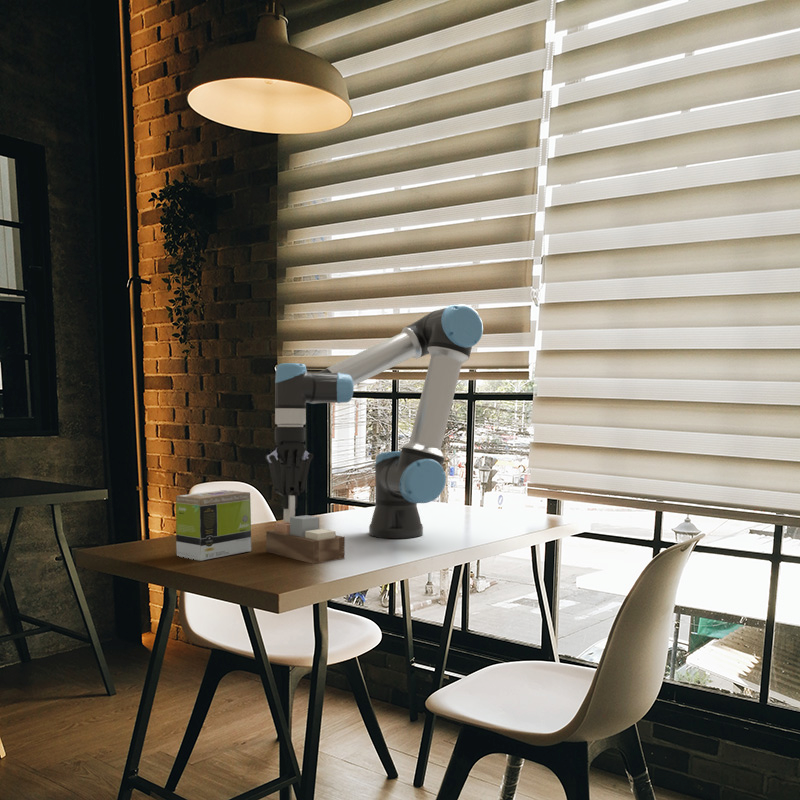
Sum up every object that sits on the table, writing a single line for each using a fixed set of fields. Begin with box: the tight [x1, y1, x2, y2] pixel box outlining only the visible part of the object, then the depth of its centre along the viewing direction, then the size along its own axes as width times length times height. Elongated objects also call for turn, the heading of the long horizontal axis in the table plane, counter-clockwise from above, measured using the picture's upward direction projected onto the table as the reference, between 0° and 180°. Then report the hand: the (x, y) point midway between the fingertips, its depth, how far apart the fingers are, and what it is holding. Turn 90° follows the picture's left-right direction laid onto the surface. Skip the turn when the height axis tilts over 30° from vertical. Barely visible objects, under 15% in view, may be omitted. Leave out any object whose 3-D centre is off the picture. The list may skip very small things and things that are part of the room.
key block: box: [265, 529, 346, 565], centre depth 173 cm, size 9×19×5 cm, turn 42°
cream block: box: [305, 528, 336, 540], centre depth 169 cm, size 5×5×6 cm
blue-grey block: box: [290, 514, 320, 537], centre depth 173 cm, size 5×5×6 cm
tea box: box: [175, 489, 252, 562], centre depth 174 cm, size 15×10×15 cm, turn 141°
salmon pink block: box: [274, 521, 290, 534], centre depth 178 cm, size 5×5×6 cm
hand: (289, 521), depth 178 cm, fingers closed
